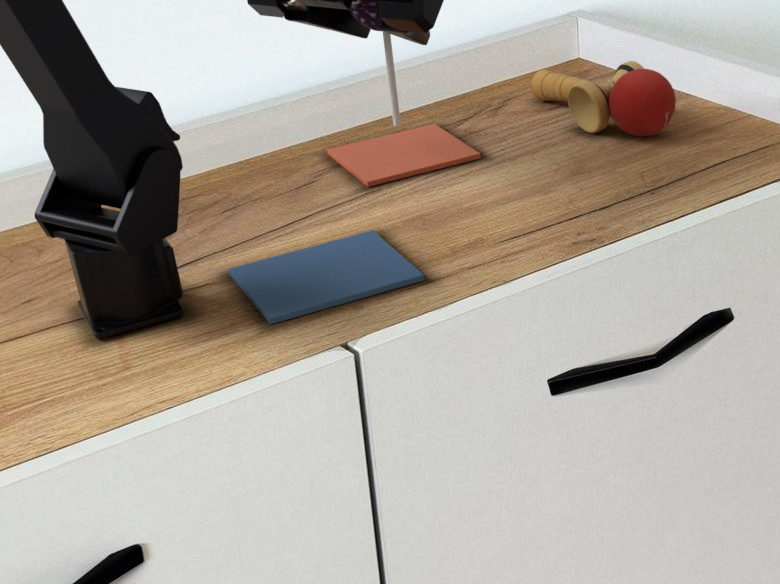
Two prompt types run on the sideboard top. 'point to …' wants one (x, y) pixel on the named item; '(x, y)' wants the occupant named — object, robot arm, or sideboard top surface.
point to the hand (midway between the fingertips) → (397, 36)
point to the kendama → (613, 99)
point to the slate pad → (324, 276)
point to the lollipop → (370, 18)
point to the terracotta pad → (402, 154)
